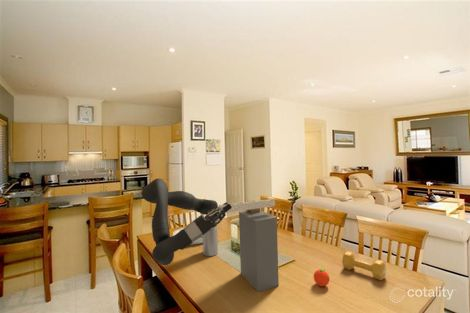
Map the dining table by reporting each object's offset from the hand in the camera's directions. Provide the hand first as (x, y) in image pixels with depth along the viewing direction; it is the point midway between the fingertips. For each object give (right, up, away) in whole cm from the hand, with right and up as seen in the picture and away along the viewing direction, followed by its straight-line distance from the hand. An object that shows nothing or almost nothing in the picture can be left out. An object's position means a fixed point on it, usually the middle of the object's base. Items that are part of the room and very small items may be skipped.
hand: (228, 204), depth 109 cm
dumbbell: (+67, -37, +12) cm, 78 cm away
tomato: (+43, -38, +3) cm, 57 cm away
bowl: (-28, -39, +68) cm, 83 cm away
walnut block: (+12, -6, +14) cm, 19 cm away
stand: (+14, -38, +9) cm, 42 cm away
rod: (+9, -3, +4) cm, 10 cm away
